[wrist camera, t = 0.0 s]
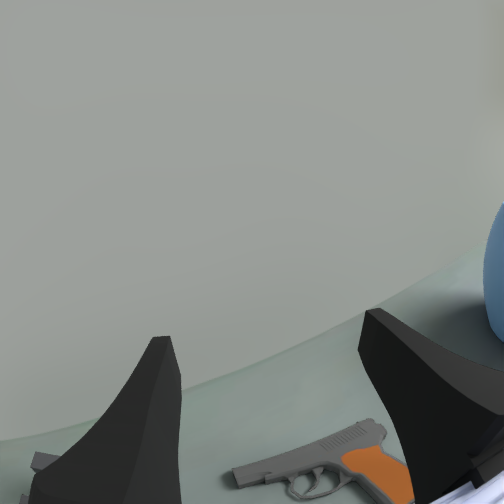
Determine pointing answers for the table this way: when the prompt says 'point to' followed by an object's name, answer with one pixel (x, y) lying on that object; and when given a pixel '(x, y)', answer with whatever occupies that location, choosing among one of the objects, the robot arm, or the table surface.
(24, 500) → the domino
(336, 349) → the table surface
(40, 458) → the domino end
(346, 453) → the handgun
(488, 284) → the planter
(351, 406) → the table surface
